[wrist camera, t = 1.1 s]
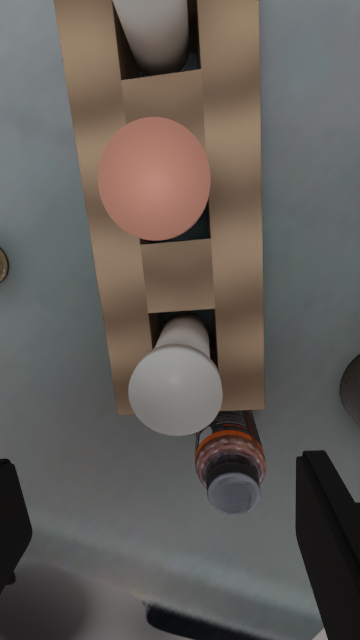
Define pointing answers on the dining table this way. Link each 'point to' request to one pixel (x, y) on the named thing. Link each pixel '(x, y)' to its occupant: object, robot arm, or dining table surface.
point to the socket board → (224, 197)
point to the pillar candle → (351, 390)
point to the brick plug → (154, 178)
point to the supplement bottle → (231, 462)
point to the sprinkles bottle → (3, 265)
